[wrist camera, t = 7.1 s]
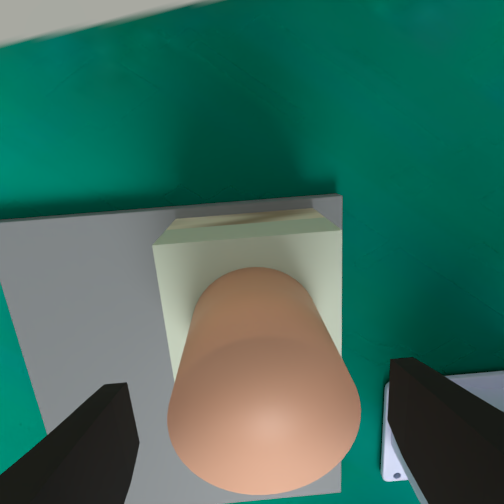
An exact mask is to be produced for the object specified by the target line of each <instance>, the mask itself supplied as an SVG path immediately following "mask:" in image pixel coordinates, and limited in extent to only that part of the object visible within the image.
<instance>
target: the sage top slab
mask: <svg viewBox="0 0 504 504" xmlns="http://www.w3.org/2000/svg"><path fill="white" fill-rule="evenodd" d="M152 248H153V254H154V261H155V267H156V273H157V279H158V285H159V291H160V297H161V303H162V309H163V316H164V322H165V328H166V334H167V340H168V346H169V352H170V358H171V365H172V371H173V377H174V383H175V379H176V376H177V372H178V368H179V364H180V361H181V357H182V353H183V350H184V346H185V342H186V338H187V335H188V331H189V327H190V323H191V320H192V316H193V312H194V309H195V306H196V304H197V302H198V300H199V298H200V296H201V295H202V293H203V292H204V291H205V290H206V289H207V287H208V286H209V285H210V284H212V283H213V282H214V281H215V280H217V279H218V278H220V277H221V276H223V275H225V274H227V273H229V272H232V271H235V270H238V269H242V268H247V267H265V268H271V269H275V270H278V271H281V272H283V273H285V274H288V275H289V276H291V277H292V278H294V279H296V280H297V281H298V282H299V283H300V284H301V285H302V286H303V287H304V288H305V289H306V290H307V292H308V293H309V295H310V296H311V298H312V300H313V302H314V304H315V306H316V308H317V310H318V312H319V314H320V316H321V318H322V320H323V322H324V324H325V326H326V328H327V330H328V332H329V334H330V336H331V338H332V340H333V342H334V344H335V346H336V348H337V350H338V352H339V354H340V356H341V342H342V230H341V229H340V228H339V227H337V226H336V225H335V224H333V223H332V222H331V221H329V220H328V219H327V218H325V217H323V218H311V219H298V220H285V221H273V222H260V223H248V224H235V225H223V226H210V227H198V228H185V229H172V230H165V231H164V233H163V234H162V235H161V236H160V237H159V238H158V239H157V240H156V242H155V243H154V244H153V245H152Z"/></svg>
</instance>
